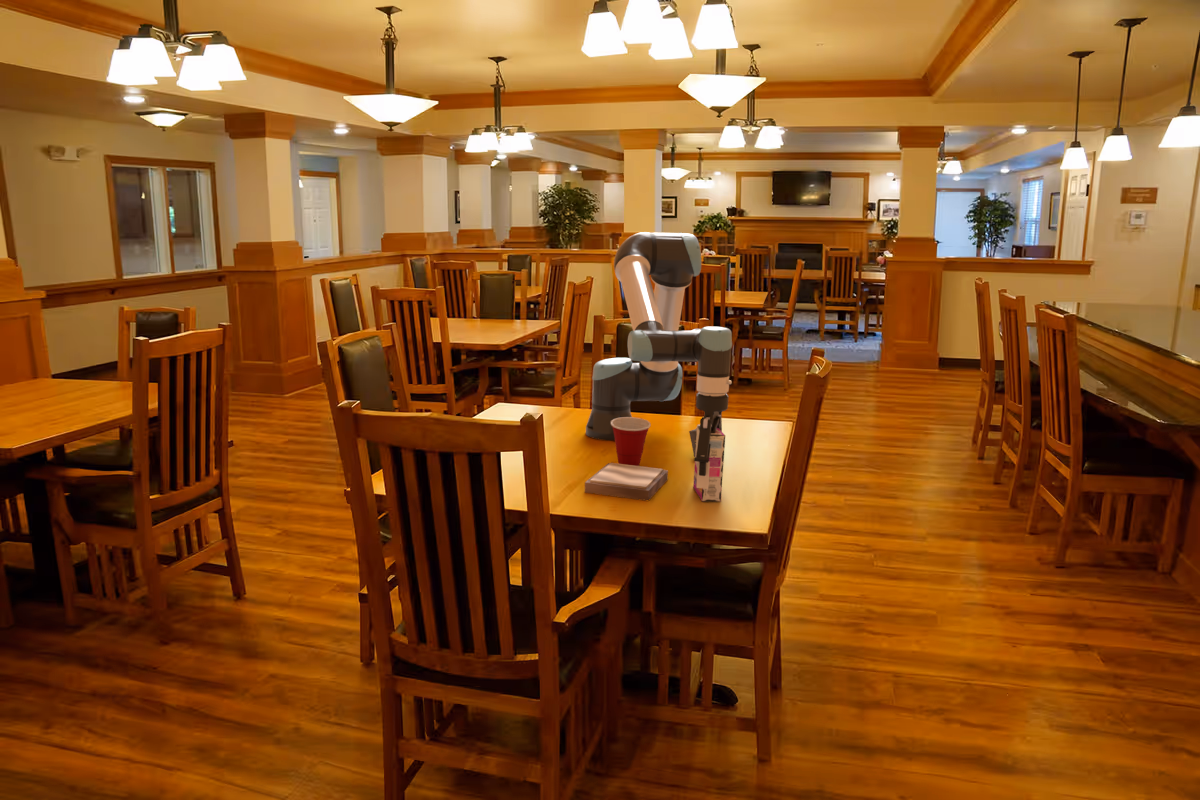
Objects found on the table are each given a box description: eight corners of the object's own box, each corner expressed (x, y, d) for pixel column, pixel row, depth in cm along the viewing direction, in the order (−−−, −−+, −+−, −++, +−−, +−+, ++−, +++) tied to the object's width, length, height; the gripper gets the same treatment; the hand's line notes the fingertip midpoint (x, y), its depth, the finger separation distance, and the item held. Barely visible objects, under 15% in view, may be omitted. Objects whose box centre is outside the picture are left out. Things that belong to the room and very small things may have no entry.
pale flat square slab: (608, 472, 223) (608, 461, 222) (667, 479, 218) (668, 468, 217) (584, 492, 206) (585, 480, 205) (648, 500, 201) (648, 488, 200)
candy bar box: (722, 502, 201) (726, 435, 198) (701, 502, 201) (705, 435, 197) (712, 487, 212) (715, 423, 209) (692, 487, 212) (695, 423, 208)
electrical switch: (704, 461, 235) (703, 428, 234) (688, 459, 239) (687, 426, 237) (721, 454, 242) (720, 422, 241) (706, 453, 246) (705, 421, 244)
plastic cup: (612, 471, 224) (614, 426, 221) (606, 459, 234) (607, 417, 232) (653, 470, 226) (654, 426, 223) (644, 458, 236) (646, 416, 234)
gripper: (718, 404, 189) (713, 497, 193) (737, 385, 211) (732, 469, 216) (685, 401, 191) (680, 493, 196) (707, 382, 213) (703, 465, 218)
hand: (707, 480), depth 206 cm, fingers closed on candy bar box, 12 cm apart
